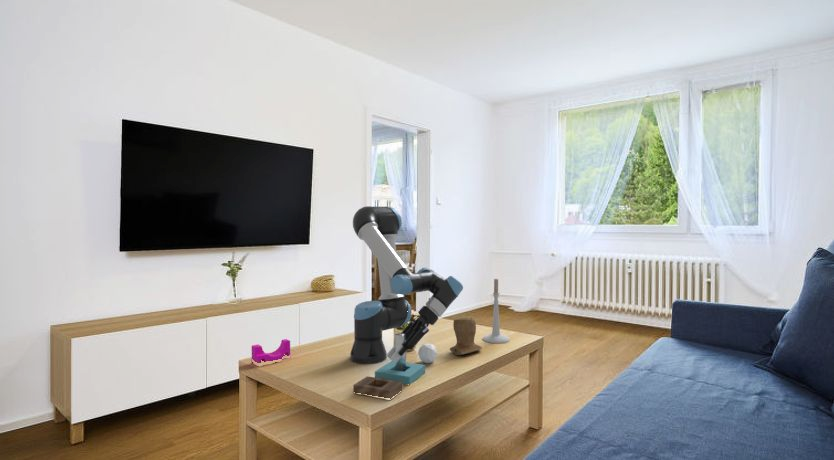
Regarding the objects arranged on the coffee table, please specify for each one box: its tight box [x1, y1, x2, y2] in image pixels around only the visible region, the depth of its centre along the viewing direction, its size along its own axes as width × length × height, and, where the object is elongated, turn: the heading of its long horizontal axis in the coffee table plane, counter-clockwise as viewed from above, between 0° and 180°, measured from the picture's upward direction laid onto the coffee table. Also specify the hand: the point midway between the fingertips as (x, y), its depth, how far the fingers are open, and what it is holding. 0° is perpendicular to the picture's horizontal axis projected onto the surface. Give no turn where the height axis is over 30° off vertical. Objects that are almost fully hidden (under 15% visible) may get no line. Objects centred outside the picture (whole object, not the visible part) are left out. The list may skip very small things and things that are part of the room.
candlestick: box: [482, 278, 510, 344], centre depth 217 cm, size 13×13×30 cm
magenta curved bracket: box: [251, 338, 291, 363], centre depth 185 cm, size 15×6×8 cm, turn 132°
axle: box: [394, 332, 407, 372], centre depth 167 cm, size 4×4×14 cm
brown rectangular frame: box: [352, 375, 404, 399], centre depth 152 cm, size 14×9×3 cm, turn 66°
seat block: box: [374, 360, 426, 386], centre depth 167 cm, size 14×14×3 cm
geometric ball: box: [417, 343, 438, 364], centre depth 183 cm, size 8×8×8 cm
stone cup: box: [449, 317, 483, 356], centre depth 198 cm, size 15×12×15 cm
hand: (390, 359), depth 166 cm, fingers closed on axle, 4 cm apart
